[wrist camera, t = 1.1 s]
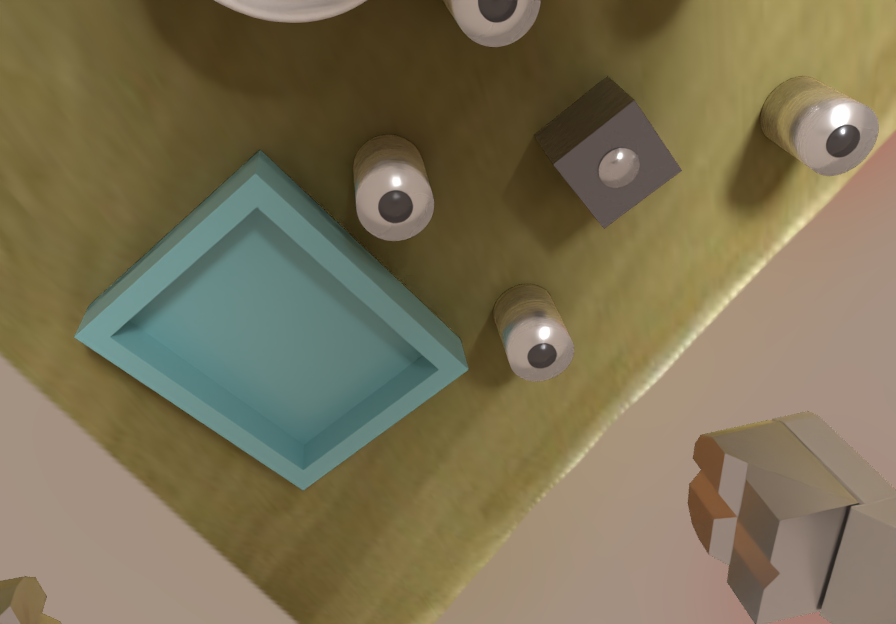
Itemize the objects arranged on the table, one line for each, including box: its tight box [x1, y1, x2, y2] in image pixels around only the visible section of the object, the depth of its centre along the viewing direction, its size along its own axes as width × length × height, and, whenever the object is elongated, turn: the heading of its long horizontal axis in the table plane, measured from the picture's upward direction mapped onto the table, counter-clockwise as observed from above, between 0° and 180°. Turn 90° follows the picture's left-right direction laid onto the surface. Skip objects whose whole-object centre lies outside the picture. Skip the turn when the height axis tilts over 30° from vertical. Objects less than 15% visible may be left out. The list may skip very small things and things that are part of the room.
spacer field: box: [353, 0, 879, 381], centre depth 36 cm, size 22×20×5 cm
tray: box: [74, 150, 469, 490], centre depth 41 cm, size 13×16×3 cm
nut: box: [534, 76, 682, 228], centre depth 37 cm, size 5×5×4 cm
